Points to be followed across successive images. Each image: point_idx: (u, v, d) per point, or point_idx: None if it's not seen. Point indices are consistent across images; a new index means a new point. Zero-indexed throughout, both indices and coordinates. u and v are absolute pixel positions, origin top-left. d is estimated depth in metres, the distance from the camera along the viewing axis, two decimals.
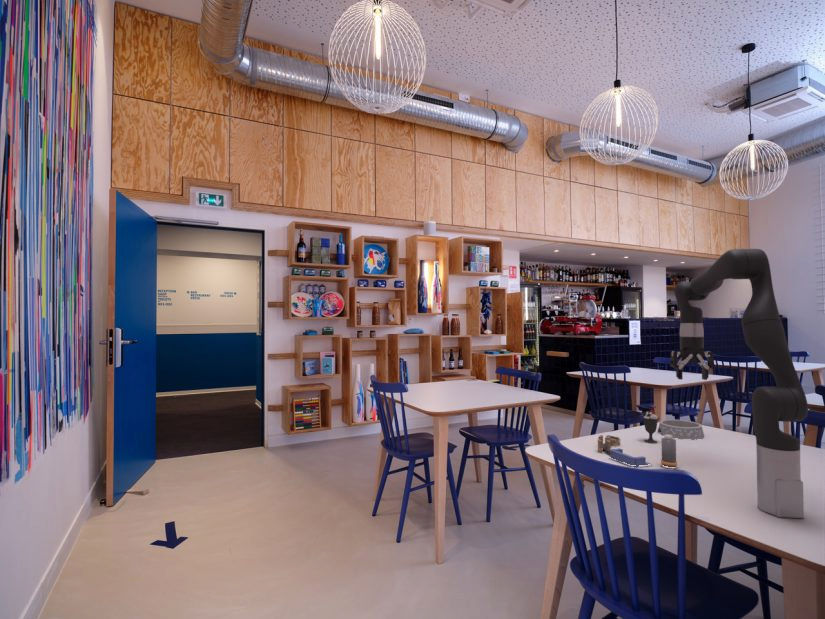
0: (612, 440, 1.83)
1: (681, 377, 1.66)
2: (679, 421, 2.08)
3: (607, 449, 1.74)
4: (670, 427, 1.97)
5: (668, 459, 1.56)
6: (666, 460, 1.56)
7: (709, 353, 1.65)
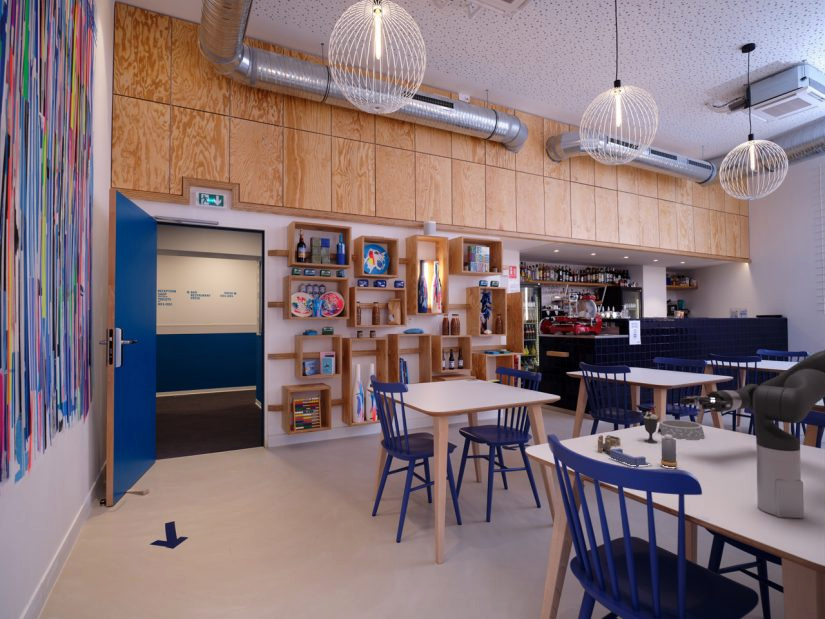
0: (612, 440, 1.83)
1: None
2: (679, 421, 2.07)
3: (607, 449, 1.74)
4: (670, 427, 1.97)
5: (668, 459, 1.56)
6: (666, 460, 1.56)
7: (696, 401, 1.71)
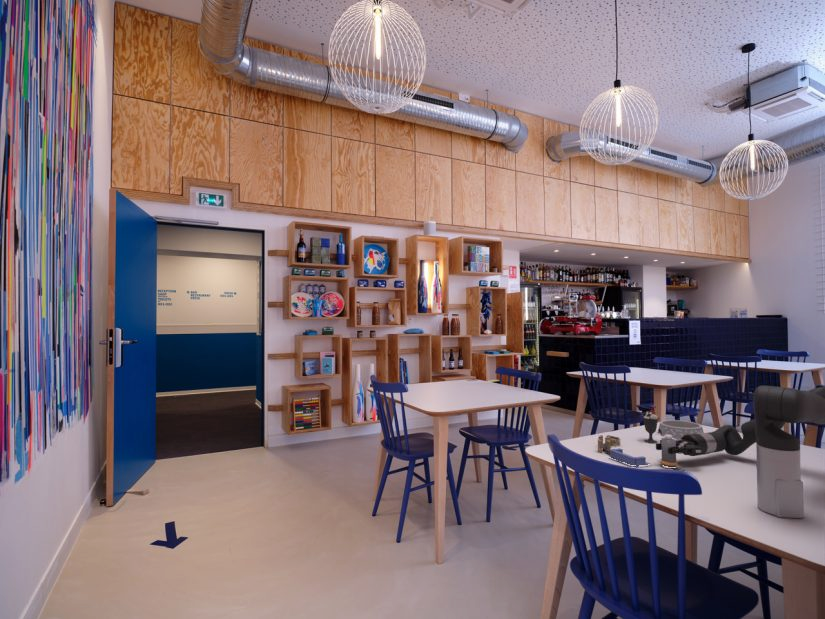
0: (612, 440, 1.83)
1: None
2: (679, 421, 2.07)
3: (607, 449, 1.74)
4: (670, 428, 1.96)
5: (668, 459, 1.56)
6: (666, 460, 1.56)
7: None
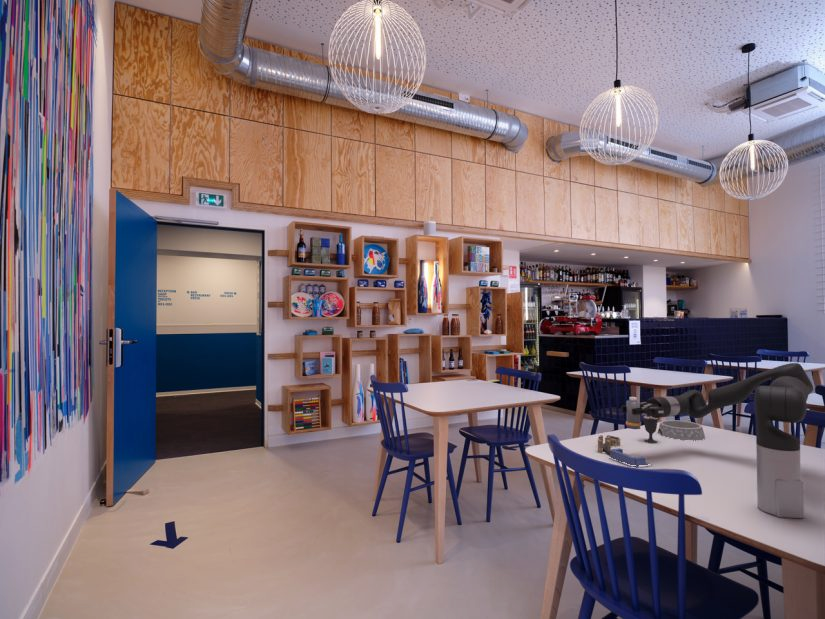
0: (612, 440, 1.83)
1: (634, 414, 1.61)
2: (679, 422, 2.06)
3: (607, 449, 1.74)
4: (671, 428, 1.96)
5: (632, 420, 1.62)
6: (630, 421, 1.63)
7: None
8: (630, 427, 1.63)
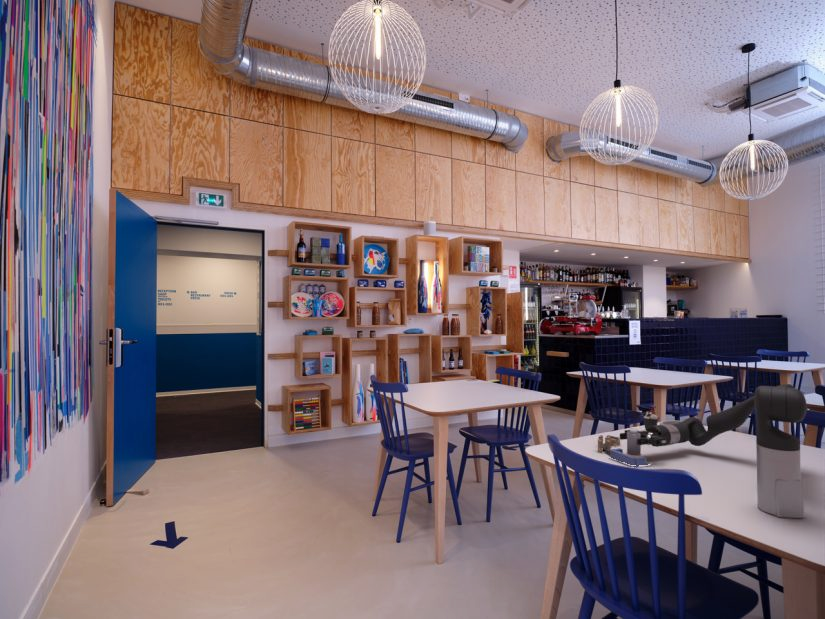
0: (612, 440, 1.83)
1: None
2: (679, 422, 2.06)
3: (607, 449, 1.74)
4: None
5: (632, 452, 1.62)
6: (631, 453, 1.62)
7: None
8: None
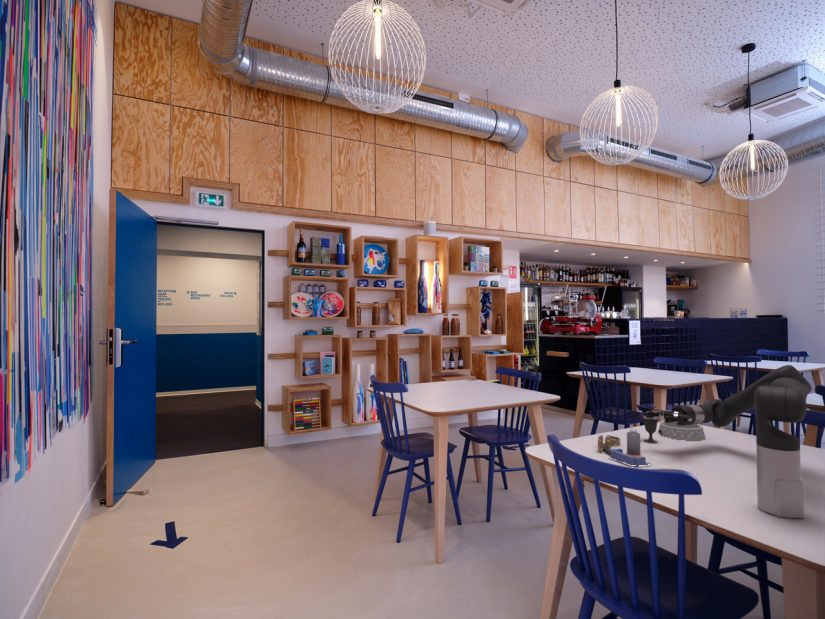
0: (612, 440, 1.83)
1: (667, 422, 1.64)
2: None
3: (607, 449, 1.74)
4: (671, 428, 1.95)
5: (632, 452, 1.62)
6: (631, 453, 1.62)
7: (662, 415, 1.77)
8: None
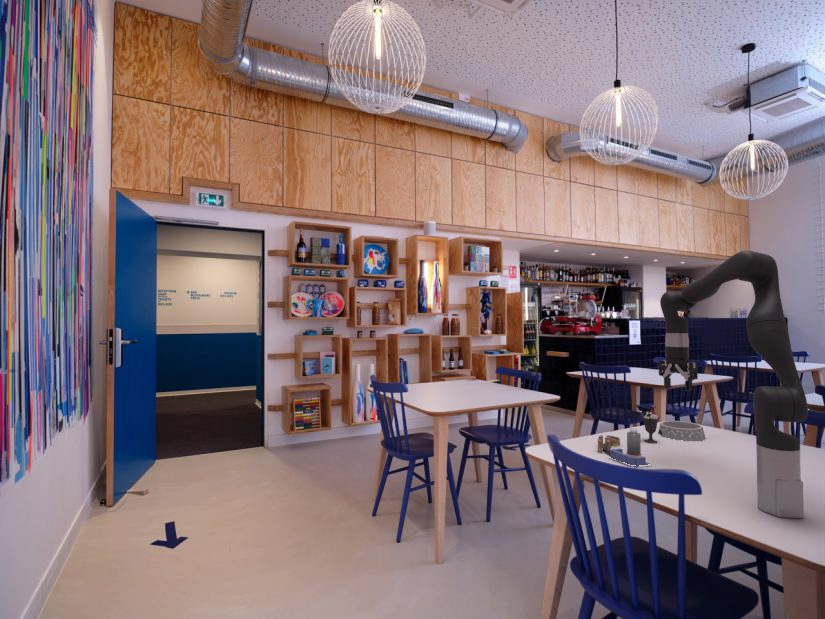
0: (612, 440, 1.83)
1: None
2: (679, 422, 2.05)
3: (607, 449, 1.74)
4: (671, 428, 1.95)
5: (632, 452, 1.62)
6: (631, 453, 1.62)
7: None
8: None
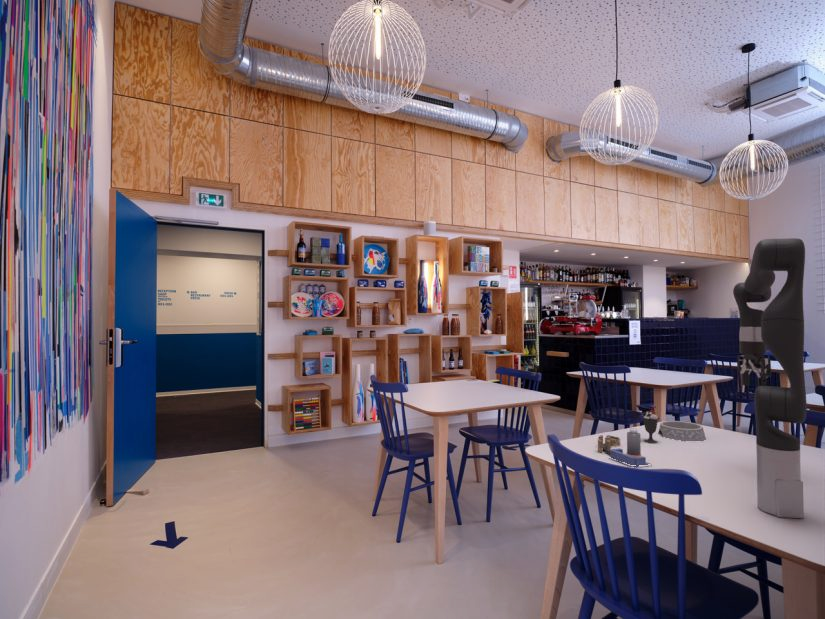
0: (612, 440, 1.83)
1: None
2: (679, 422, 2.05)
3: (607, 449, 1.74)
4: (671, 429, 1.94)
5: (632, 452, 1.62)
6: (631, 453, 1.62)
7: None
8: None
